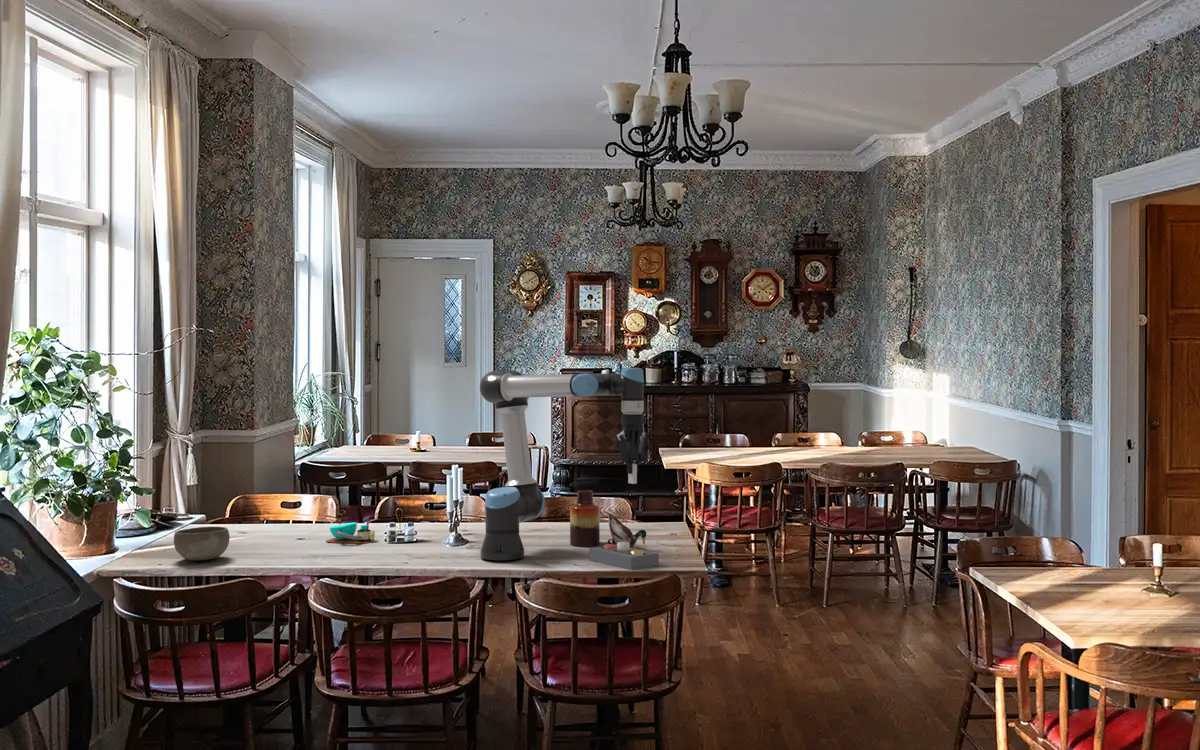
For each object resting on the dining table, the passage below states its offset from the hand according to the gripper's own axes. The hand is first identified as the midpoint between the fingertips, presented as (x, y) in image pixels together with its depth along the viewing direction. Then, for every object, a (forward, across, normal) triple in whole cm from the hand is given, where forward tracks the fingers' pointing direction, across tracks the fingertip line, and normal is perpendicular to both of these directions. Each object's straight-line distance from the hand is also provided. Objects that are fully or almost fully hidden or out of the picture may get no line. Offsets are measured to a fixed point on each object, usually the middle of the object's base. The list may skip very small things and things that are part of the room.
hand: (632, 483), depth 345 cm
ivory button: (+23, -4, 0) cm, 24 cm away
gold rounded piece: (+25, -4, -7) cm, 26 cm away
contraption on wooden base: (+27, -59, +93) cm, 114 cm away
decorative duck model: (+26, +14, +16) cm, 34 cm away
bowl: (+27, -112, +96) cm, 150 cm away
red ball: (+25, -4, +7) cm, 26 cm away
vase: (+27, +6, +34) cm, 44 cm away
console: (+26, -4, 0) cm, 27 cm away
